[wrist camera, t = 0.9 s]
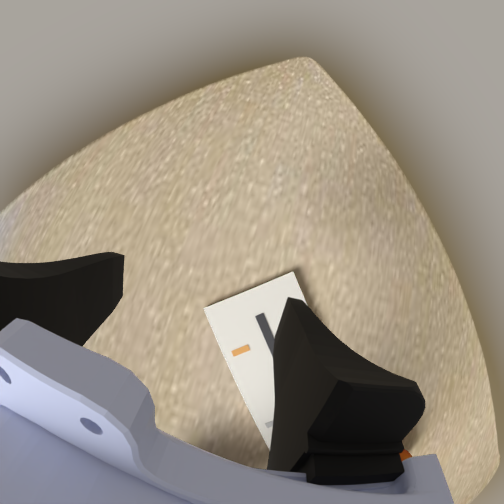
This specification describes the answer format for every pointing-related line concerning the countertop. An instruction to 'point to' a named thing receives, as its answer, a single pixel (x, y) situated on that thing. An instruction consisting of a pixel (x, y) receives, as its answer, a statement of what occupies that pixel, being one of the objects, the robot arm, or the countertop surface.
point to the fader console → (253, 342)
